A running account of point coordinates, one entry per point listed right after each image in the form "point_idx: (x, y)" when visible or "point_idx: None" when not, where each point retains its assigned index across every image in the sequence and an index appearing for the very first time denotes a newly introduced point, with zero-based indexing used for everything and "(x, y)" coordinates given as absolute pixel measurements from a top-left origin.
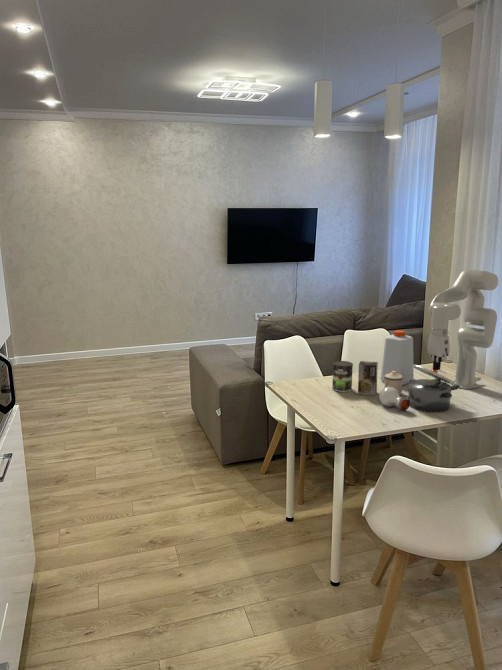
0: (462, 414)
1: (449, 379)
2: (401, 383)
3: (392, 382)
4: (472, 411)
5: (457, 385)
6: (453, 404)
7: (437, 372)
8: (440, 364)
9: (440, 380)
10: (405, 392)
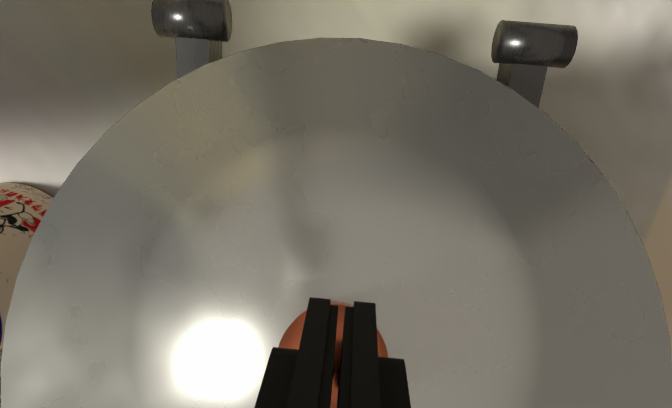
0: (620, 151)
1: (667, 373)
2: (14, 261)
3: (1, 347)
4: (642, 22)
5: (557, 56)
6: (439, 27)
7: (383, 341)
8: (377, 373)
9: (228, 14)
10: (41, 151)
